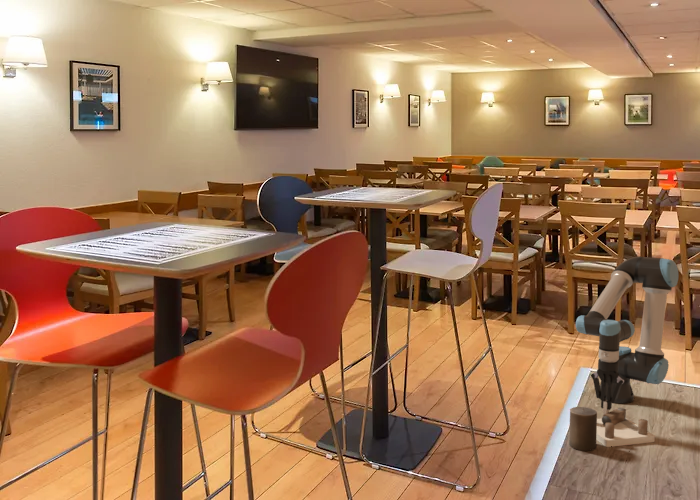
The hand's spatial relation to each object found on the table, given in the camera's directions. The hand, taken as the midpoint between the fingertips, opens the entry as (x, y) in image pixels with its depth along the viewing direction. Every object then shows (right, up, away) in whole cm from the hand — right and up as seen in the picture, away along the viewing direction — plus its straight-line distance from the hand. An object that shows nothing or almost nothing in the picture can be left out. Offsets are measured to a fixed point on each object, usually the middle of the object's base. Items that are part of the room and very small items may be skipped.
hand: (605, 416), depth 262 cm
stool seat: (+2, -6, -5) cm, 8 cm away
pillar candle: (-15, -7, -15) cm, 22 cm away
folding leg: (+4, -2, 0) cm, 4 cm away
